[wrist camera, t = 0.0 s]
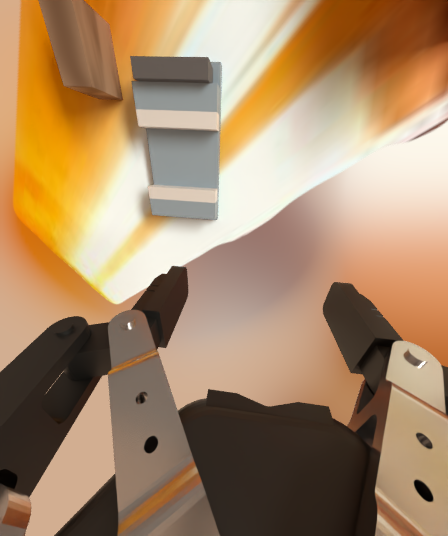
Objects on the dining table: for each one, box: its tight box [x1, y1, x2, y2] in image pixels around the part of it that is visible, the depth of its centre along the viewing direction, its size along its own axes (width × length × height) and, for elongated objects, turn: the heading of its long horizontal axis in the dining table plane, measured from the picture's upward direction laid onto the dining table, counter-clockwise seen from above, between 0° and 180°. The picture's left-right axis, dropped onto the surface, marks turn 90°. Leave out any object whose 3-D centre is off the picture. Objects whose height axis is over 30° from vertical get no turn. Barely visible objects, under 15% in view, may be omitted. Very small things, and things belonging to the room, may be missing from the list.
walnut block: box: [39, 0, 123, 100], centre depth 26 cm, size 4×8×7 cm, turn 177°
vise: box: [146, 62, 222, 220], centre depth 32 cm, size 22×12×4 cm, turn 177°
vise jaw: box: [130, 56, 220, 131], centre depth 27 cm, size 7×12×4 cm, turn 87°
